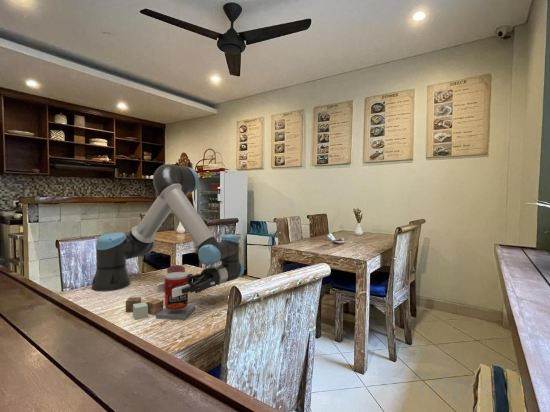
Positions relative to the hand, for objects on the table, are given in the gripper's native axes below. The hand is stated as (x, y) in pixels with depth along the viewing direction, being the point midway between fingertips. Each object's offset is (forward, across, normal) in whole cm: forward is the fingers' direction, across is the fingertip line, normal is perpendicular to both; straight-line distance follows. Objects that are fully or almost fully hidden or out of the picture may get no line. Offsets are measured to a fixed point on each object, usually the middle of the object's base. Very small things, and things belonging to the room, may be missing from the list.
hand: (164, 290), depth 100 cm
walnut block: (+2, +15, -9) cm, 18 cm away
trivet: (-5, 0, -9) cm, 10 cm away
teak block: (-1, +7, -9) cm, 12 cm away
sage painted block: (+4, +8, -9) cm, 13 cm away
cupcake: (-32, +35, -9) cm, 48 cm away
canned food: (-5, 0, -7) cm, 8 cm away
